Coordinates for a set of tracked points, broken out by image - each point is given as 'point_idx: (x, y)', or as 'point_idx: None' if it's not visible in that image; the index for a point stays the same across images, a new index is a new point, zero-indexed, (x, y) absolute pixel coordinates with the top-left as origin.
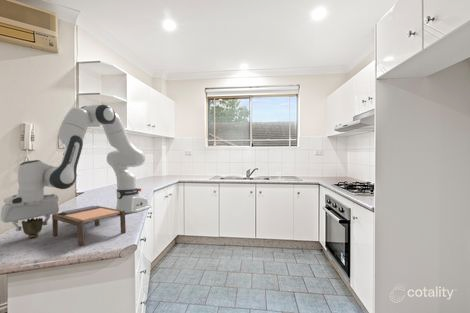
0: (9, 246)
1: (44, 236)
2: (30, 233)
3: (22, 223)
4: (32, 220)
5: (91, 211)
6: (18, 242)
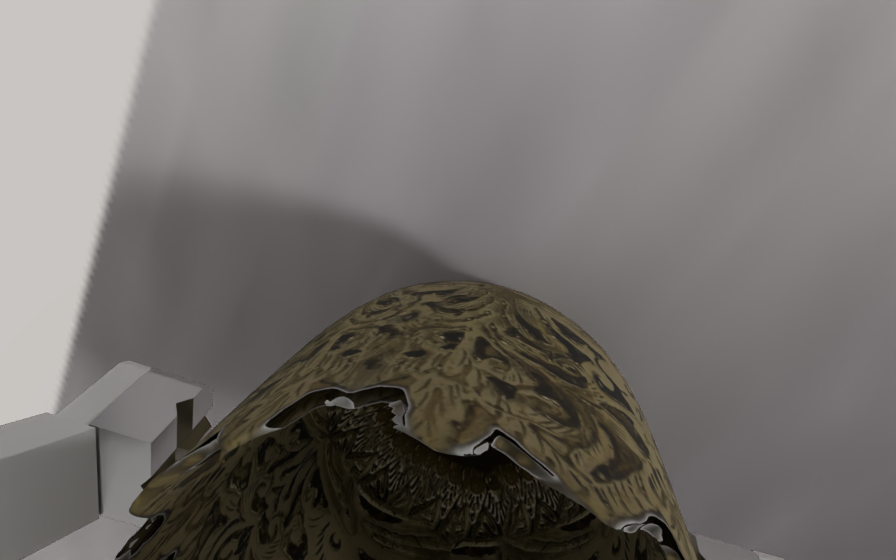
0: None
1: None
2: (370, 477)
3: (173, 511)
4: (573, 450)
5: None
6: (243, 354)
